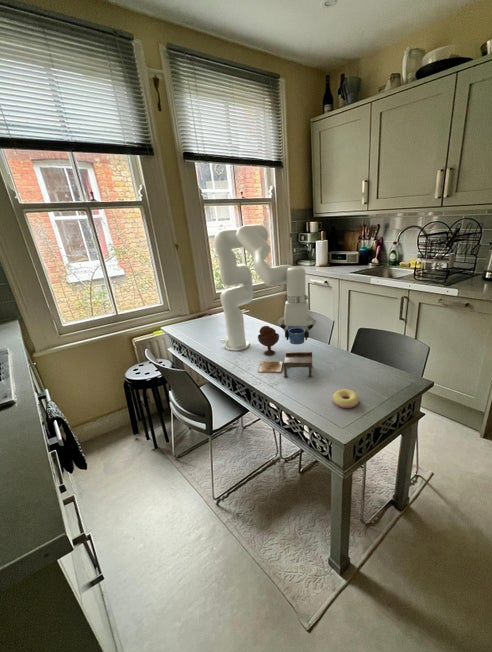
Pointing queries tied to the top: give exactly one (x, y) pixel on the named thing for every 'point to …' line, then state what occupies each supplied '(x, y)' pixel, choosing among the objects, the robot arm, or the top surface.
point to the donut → (345, 402)
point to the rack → (298, 361)
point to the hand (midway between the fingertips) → (296, 338)
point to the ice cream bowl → (268, 338)
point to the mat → (271, 367)
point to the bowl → (296, 335)
